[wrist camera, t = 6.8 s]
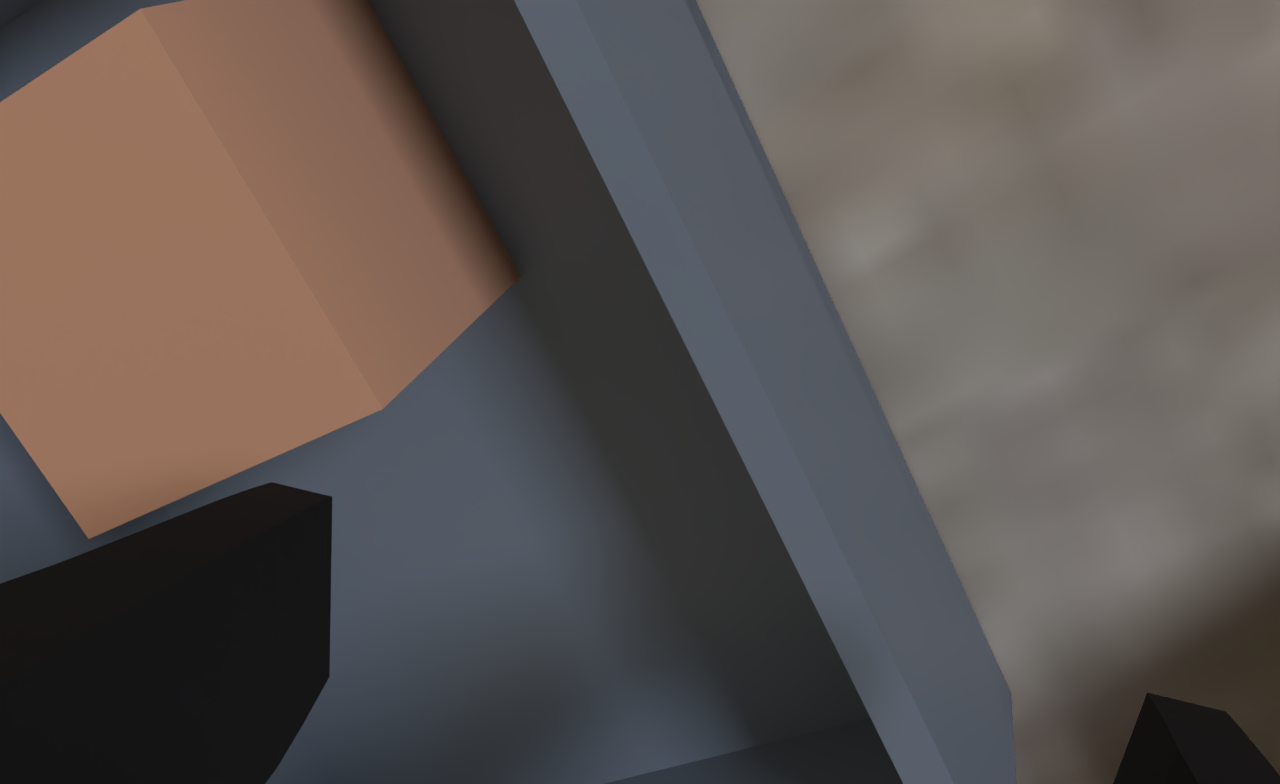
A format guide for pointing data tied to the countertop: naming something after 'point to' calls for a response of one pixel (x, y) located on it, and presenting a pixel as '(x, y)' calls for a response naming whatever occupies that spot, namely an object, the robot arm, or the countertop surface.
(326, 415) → the terracotta cube
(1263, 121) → the countertop surface
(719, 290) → the slate tote
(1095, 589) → the countertop surface
